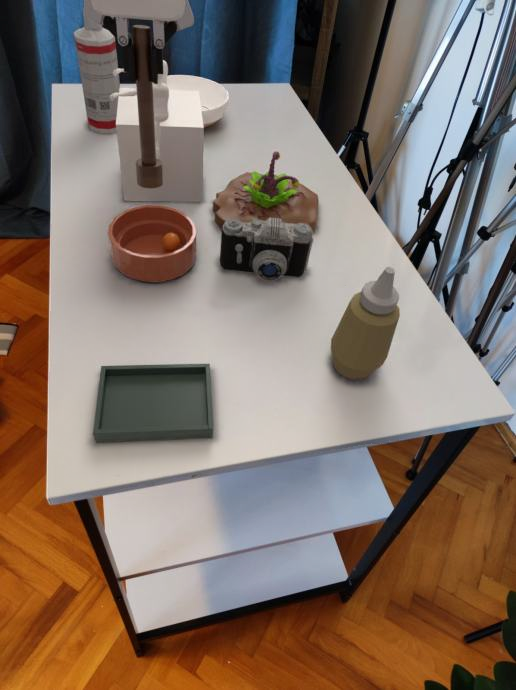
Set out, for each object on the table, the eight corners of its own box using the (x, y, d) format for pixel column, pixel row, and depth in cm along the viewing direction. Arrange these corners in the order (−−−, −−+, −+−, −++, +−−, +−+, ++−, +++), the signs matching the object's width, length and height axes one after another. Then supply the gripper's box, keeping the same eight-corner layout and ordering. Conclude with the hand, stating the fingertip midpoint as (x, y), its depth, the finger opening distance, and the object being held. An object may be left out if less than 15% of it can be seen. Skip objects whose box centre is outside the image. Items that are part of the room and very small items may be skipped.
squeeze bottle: (343, 393, 68) (381, 300, 55) (315, 351, 73) (343, 256, 59) (390, 377, 71) (437, 284, 57) (360, 337, 75) (397, 243, 62)
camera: (217, 282, 80) (219, 231, 73) (220, 255, 85) (223, 205, 77) (306, 291, 81) (318, 242, 74) (305, 264, 86) (316, 216, 78)
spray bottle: (114, 136, 108) (98, 2, 89) (82, 129, 108) (59, -6, 90) (128, 121, 113) (116, -9, 94) (98, 114, 114) (80, -16, 95)
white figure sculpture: (197, 162, 104) (199, 28, 85) (203, 212, 93) (206, 70, 74) (126, 160, 102) (111, 22, 83) (122, 211, 90) (104, 65, 71)
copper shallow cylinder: (109, 284, 77) (104, 257, 73) (115, 231, 86) (112, 204, 82) (197, 284, 79) (197, 258, 75) (194, 232, 88) (195, 206, 84)
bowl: (138, 102, 120) (136, 75, 115) (216, 99, 125) (217, 74, 120) (152, 141, 108) (150, 113, 103) (237, 137, 113) (239, 110, 109)
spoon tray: (95, 442, 59) (92, 433, 58) (103, 375, 66) (101, 365, 64) (212, 437, 62) (213, 428, 60) (209, 372, 68) (209, 363, 66)
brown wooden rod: (132, 185, 69) (119, 26, 56) (144, 176, 71) (134, 22, 59) (156, 190, 68) (148, 31, 56) (167, 181, 71) (161, 26, 58)
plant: (327, 198, 100) (340, 146, 92) (305, 254, 87) (317, 199, 79) (235, 174, 102) (239, 121, 94) (200, 225, 90) (201, 169, 81)
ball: (157, 245, 82) (164, 229, 81) (162, 245, 84) (169, 229, 84) (173, 254, 82) (180, 237, 81) (178, 253, 84) (185, 237, 84)
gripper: (38, -128, 44) (74, 87, 58) (215, -106, 46) (209, 95, 60) (51, -138, 49) (81, 62, 63) (211, -118, 51) (206, 71, 65)
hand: (144, 77), depth 61 cm, fingers closed on brown wooden rod, 2 cm apart
